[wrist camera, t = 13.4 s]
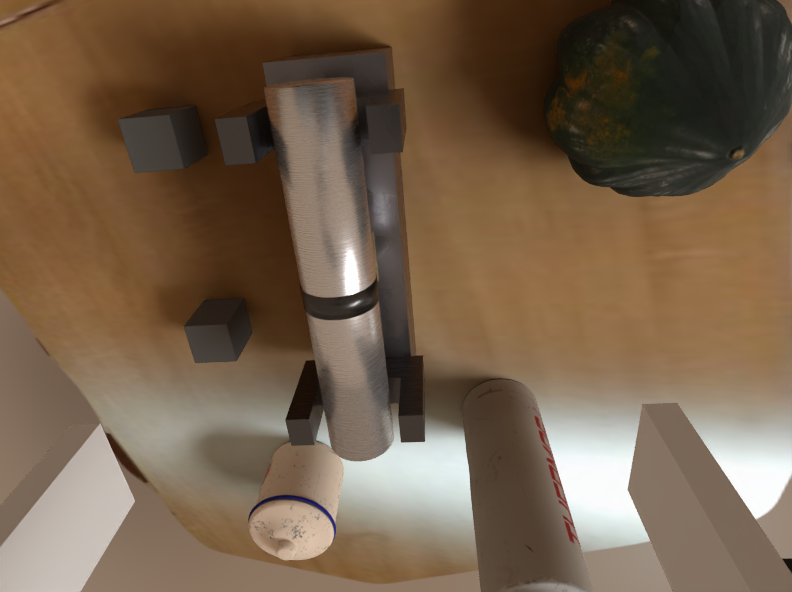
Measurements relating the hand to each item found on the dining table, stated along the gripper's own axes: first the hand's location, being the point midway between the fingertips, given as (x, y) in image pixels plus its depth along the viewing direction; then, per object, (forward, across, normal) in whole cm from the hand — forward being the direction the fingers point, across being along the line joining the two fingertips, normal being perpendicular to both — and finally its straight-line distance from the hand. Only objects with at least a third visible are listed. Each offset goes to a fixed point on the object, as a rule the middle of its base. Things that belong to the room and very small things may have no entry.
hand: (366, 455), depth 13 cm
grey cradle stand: (+35, -4, -6) cm, 36 cm away
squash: (+35, +18, +4) cm, 40 cm away
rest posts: (+35, -19, -6) cm, 40 cm away
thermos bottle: (+35, +8, -28) cm, 45 cm away
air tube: (+24, -4, -6) cm, 25 cm away
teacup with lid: (+35, -14, -37) cm, 53 cm away
